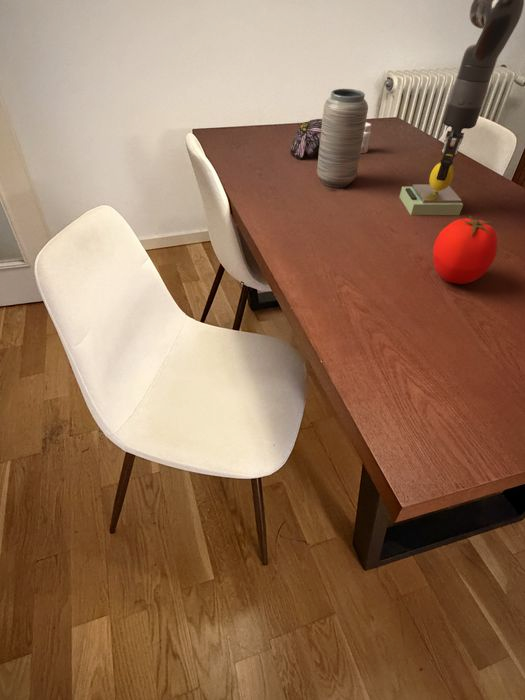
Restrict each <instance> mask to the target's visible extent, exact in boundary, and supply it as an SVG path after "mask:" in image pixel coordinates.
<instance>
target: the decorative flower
mask: <svg viewBox="0 0 525 700" xmlns="http://www.w3.org/2000/svg"><path fill="white" fill-rule="evenodd" d="M322 119H323V118H315V119H310V120H308V121H304V122H302V123H301V125H300V127H299V128H298V129H297V131H296V133H295V136H294V138H293V140H292V142H291V146H290V152H289V153H290V155H293V156H294V157H295V159H296V160H300V161H301V160H302V159H303V157H304V154H305V152H306V154H307V155H308V156H309V158H312V156H315V154H316V153H317V151H319V146H320V137H321V128H322Z"/></svg>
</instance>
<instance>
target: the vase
mask: <svg viewBox="0 0 525 700" xmlns="http://www.w3.org/2000/svg"><path fill="white" fill-rule="evenodd" d="M365 95H366V94H365V92H364V91H362V90H358V89H353V88H337V89H333V90H332V91H331V92H330V96H329V97H328V98H327V99H326V100H325V102H324V105H323V109H322V110H323V111H322V118H321V119H322V128H321V137H320V146H319V149H318V158H317V167H316V174H317V176H318V179H319V180H320V182H321V184H323V185H324V186H326V187H330V188H345V187H347V186H349V185H350V183H352V182H353V181H354V180H355V178H356V177H357V174H358V167H359V162H360V156H361V153H360V152H361V146H362V140H363V135H364V129H365V124H366V123H367V117H368V112H369V105H368V102H367V101H366V99H365V98H366V97H365Z"/></svg>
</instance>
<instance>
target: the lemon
mask: <svg viewBox="0 0 525 700" xmlns="http://www.w3.org/2000/svg"><path fill="white" fill-rule="evenodd" d="M440 165H441V163H440V162H438V163H437V164H436V165H435V166H434V167H433V169H432V170H431V173H430V175H429V181H428V182H429V184H430V186H431V187H432V188H433V189H434V190H435V192H439V191H440V190H444V189H446V188H447V187H448V186H451V183H452V181H453V178H454V172H455V169H454V166H453V164H451V166H450V168H449V171H448V174H447V177H446V180H445V181H441V180H437V175H438V172H439V168H440Z"/></svg>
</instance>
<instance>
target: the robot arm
mask: <svg viewBox="0 0 525 700" xmlns="http://www.w3.org/2000/svg"><path fill="white" fill-rule="evenodd" d="M524 5H525V0H473V1H472V3H471V5H470V9H469V20H470V23H471V24H472V25H473V26H474V27H476V28H477V29H481V33H480V35H479V37H478V39H477V41H476V43H474V44H471V45H469V46H468V47H466V49H465V50H464V52H463V55H462V58H461V61H460V65H459V68H458V71H457V75H456V78H455V81H454V82H453V86H452V88H451V91H450V94H449V96H448V97H449V98H448V101H447V104H446V106H445V107H446V108H445V110H444V114H443V117H442V124H443V125H444V126H447V127H450V128H451V129H450V130H447V131H446V134H445V138H444V141H443V143H444V144H443V148H442V151H441V155H442V158H441V159H440V161H439V163H441V165H440V168H439V172H438V175H437V180H441V181H445V180H446V177H447V174H448V171H449V168H450V166H451V165H453V164H454V159H455V157H457V154H458V151H459V148H460V146H461V144H462V143H463V140H464V137H465V136H464V134H465V132H462V131H463V130H464V129H465V130H470V129H473V128H474V127H476V125H477V122H478V120H479V116H480V114H481V111H482V108H483V105H484V103H485V100H486V97H487V94H488V91H489V86H490V83H491V79H492V76H493V74H494V70H495V68H496V65H497V62H498V59H499V57H500V55H501V53H502V52H503V50H504V49H505V47H506V45H507V44H508V42H509V40H510V38H511V37H512V34H513V33H514V31H515V29H516V28H517V25H518V23H519V21H520V19H521V18H522V14H523V11H524Z"/></svg>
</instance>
